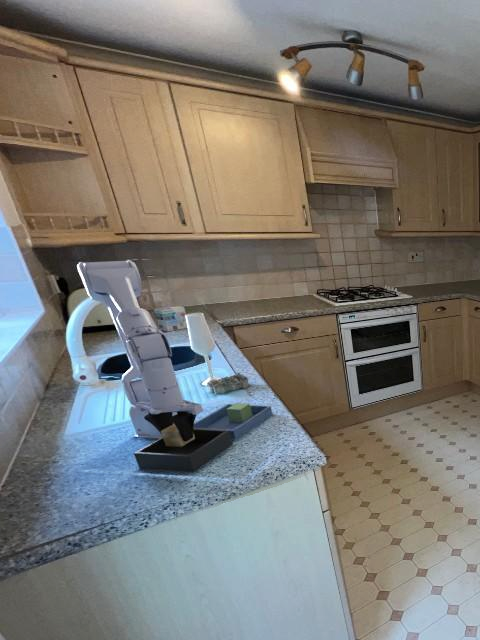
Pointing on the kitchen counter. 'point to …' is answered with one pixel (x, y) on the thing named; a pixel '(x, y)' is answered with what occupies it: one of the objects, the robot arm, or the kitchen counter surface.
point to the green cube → (239, 412)
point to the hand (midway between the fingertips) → (179, 438)
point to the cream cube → (174, 437)
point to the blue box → (236, 429)
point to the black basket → (184, 451)
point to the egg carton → (228, 383)
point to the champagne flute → (201, 340)
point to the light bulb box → (171, 318)
